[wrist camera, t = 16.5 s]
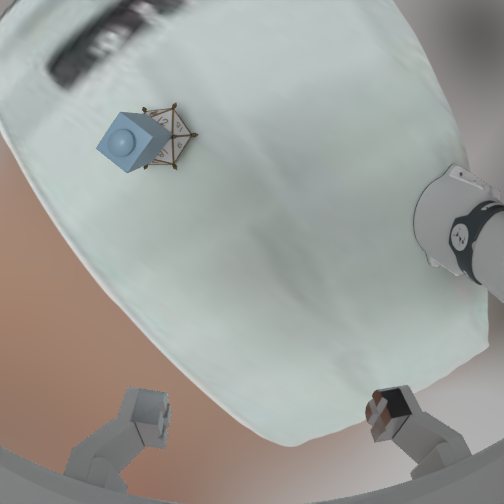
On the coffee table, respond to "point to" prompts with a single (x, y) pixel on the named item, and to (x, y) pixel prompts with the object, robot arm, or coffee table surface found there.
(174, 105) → the twenty-sided die
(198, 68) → the coffee table surface
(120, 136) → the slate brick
